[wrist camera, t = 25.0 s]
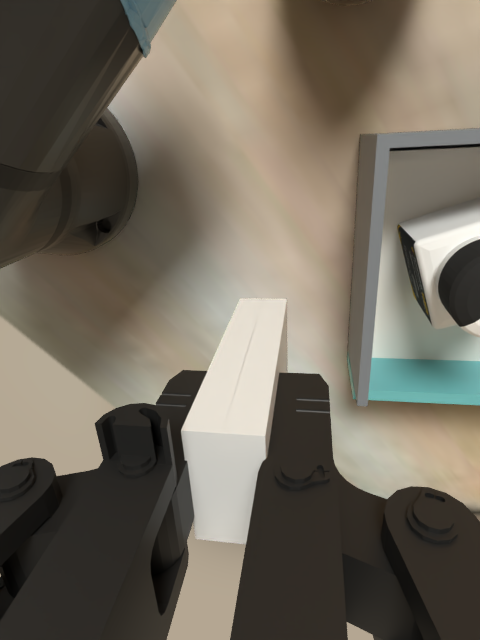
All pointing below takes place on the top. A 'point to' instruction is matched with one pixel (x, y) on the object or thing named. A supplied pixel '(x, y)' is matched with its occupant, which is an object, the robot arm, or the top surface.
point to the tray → (397, 296)
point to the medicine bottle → (445, 264)
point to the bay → (379, 235)
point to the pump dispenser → (347, 2)
